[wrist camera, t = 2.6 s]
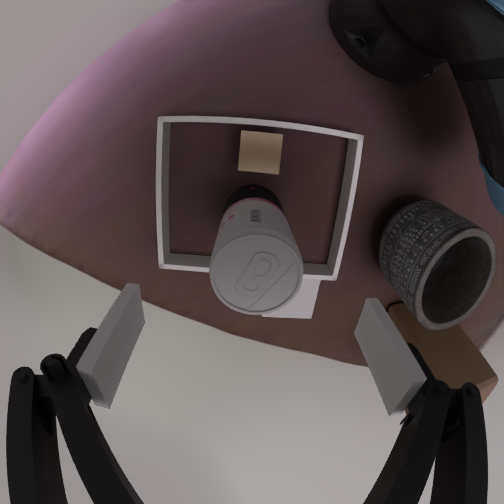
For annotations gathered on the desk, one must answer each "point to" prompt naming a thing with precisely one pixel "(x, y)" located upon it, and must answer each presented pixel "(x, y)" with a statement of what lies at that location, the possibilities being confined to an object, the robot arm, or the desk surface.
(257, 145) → the beech block
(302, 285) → the pad
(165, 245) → the bin
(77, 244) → the desk surface
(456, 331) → the wooden block
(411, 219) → the planter
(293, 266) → the beverage can
